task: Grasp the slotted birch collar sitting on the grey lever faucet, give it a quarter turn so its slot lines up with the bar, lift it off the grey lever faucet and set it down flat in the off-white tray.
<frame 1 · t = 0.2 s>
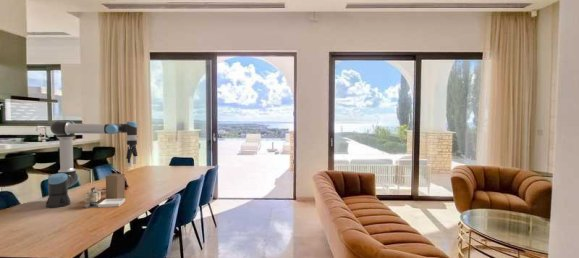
hand: (132, 165, 256), 28 cm above the table, fingers open, 13 cm apart
collar: (92, 200, 234), point 4 cm above the table, touching grey lever faucet
tray: (111, 204, 239), on the table
grey lever faucet: (92, 205, 234), on the table
wooden block: (115, 198, 255), on the table
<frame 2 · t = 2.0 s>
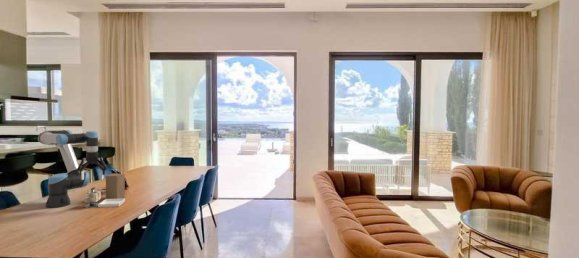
hand: (92, 179, 233), 20 cm above the table, fingers open, 13 cm apart
nothing on the table moved.
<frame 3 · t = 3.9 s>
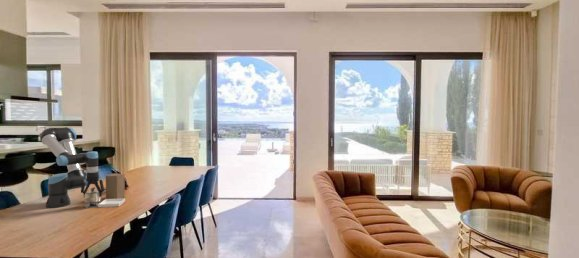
hand: (92, 201, 234), 3 cm above the table, fingers closed on collar, 8 cm apart
collar: (92, 200, 234), point 4 cm above the table, touching gripper, grey lever faucet
everything else where it was.
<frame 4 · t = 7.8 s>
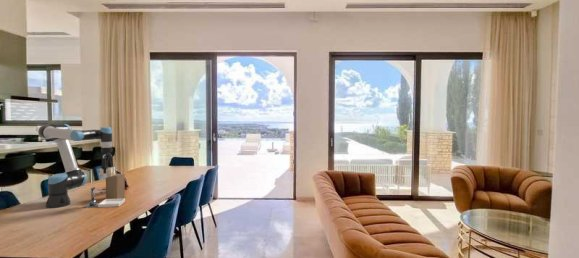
hand: (107, 176, 236), 22 cm above the table, fingers closed on collar, 8 cm apart
collar: (107, 175, 236), point 23 cm above the table, touching gripper
everything else where it was.
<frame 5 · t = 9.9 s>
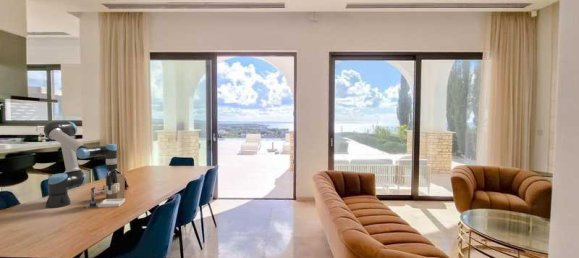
hand: (112, 192, 238), 9 cm above the table, fingers closed on collar, 8 cm apart
collar: (112, 192, 238), point 10 cm above the table, touching gripper
everything else where it was.
when the fingers open (2 cm above the table, at t = 11.5 s): collar drops 2 cm, resting on tray.
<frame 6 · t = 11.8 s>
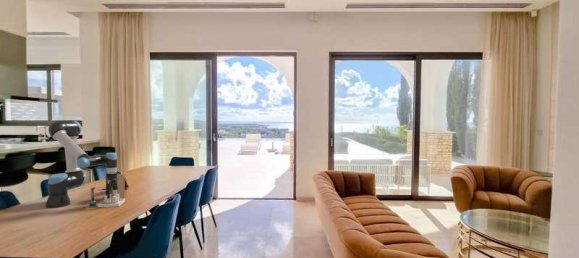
hand: (111, 200, 239), 3 cm above the table, fingers open, 12 cm apart
collar: (111, 203, 239), point 1 cm above the table, touching tray
everything else where it was.
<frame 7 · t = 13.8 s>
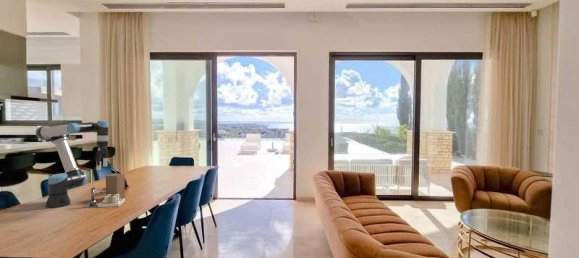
hand: (102, 168, 237), 28 cm above the table, fingers open, 13 cm apart
nothing on the table moved.
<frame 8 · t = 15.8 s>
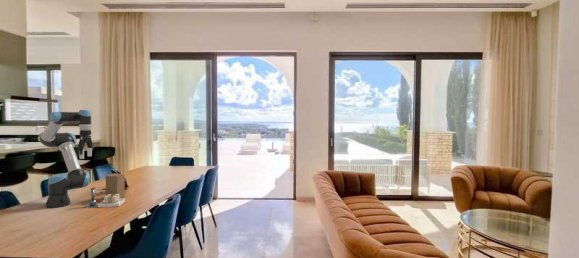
hand: (85, 157, 235), 37 cm above the table, fingers open, 13 cm apart
nothing on the table moved.
at the end: collar inside the target area on the tray (0.0 cm from its centre), point 0.8 cm above the tray's base; collar tilted 0°; the gripper is holding nothing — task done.
